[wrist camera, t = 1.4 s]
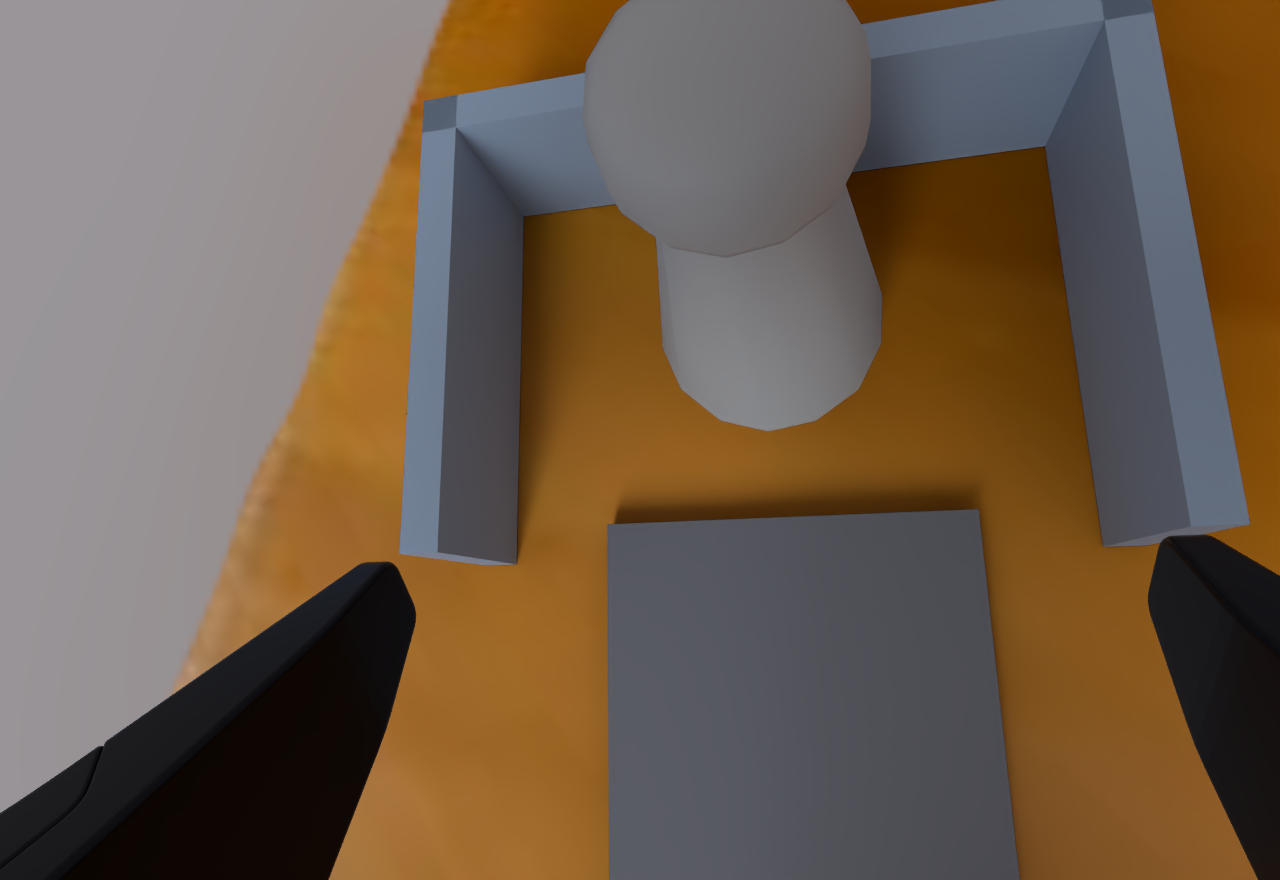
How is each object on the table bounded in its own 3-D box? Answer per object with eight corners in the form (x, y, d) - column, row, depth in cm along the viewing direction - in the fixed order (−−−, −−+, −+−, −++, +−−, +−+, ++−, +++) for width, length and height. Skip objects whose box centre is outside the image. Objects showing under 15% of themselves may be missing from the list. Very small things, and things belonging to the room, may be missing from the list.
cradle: (1146, 545, 20) (1249, 524, 15) (485, 565, 24) (399, 553, 19) (1078, 110, 22) (1146, -26, 18) (496, 193, 26) (424, 100, 22)
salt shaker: (794, 224, 24) (759, -203, 11) (920, 363, 22) (1045, 39, 9) (641, 341, 24) (445, 52, 12) (754, 487, 22) (664, 331, 10)
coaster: (1020, 928, 18) (1026, 938, 18) (615, 900, 21) (609, 908, 20) (974, 512, 21) (978, 509, 20) (612, 526, 23) (607, 524, 22)
